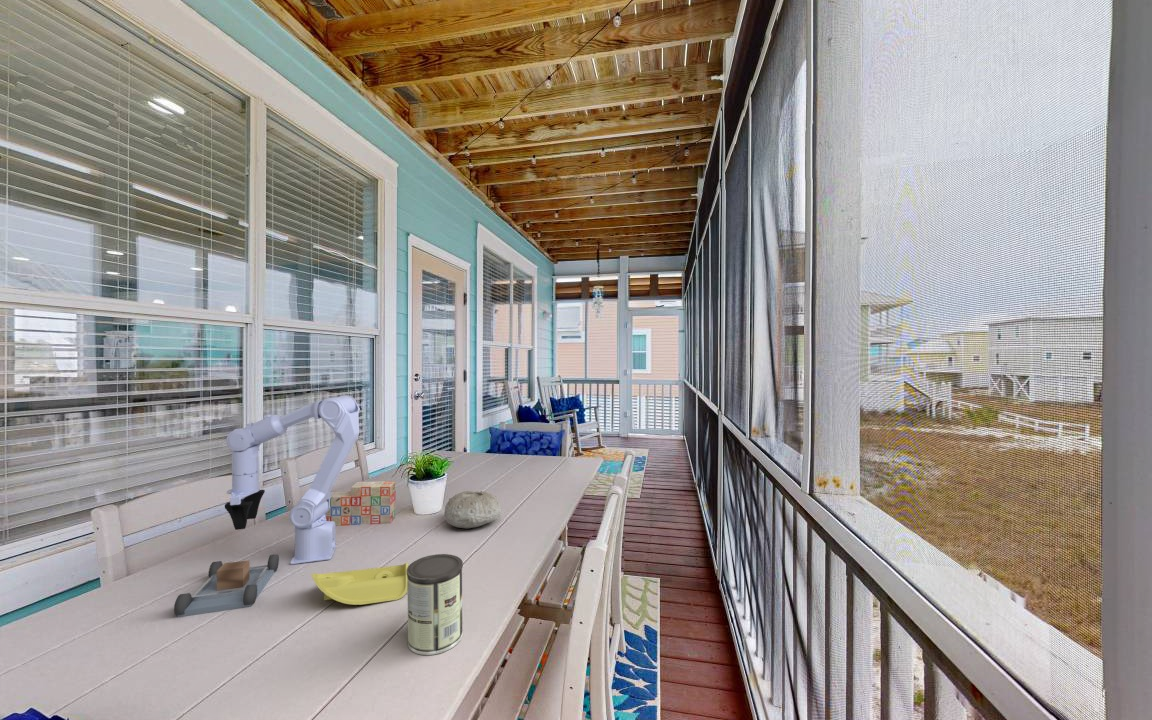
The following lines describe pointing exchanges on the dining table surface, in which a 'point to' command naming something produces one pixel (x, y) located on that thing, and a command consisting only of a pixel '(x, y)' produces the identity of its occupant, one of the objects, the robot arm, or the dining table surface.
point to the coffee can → (434, 604)
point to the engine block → (233, 575)
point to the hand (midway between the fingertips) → (245, 523)
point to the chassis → (225, 591)
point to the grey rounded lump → (472, 509)
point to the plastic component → (364, 585)
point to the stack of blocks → (363, 504)
